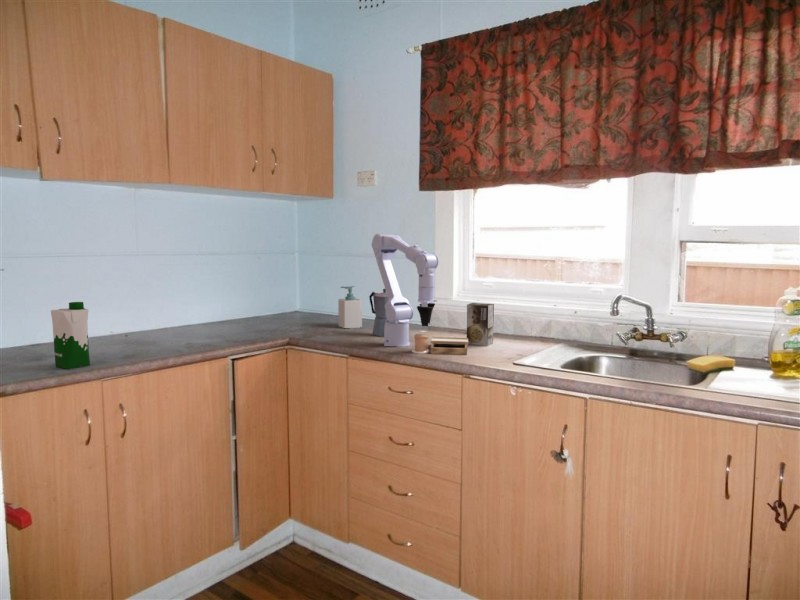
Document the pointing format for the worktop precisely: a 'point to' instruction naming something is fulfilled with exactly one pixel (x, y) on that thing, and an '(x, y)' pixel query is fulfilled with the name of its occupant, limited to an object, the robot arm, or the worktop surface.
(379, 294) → the moka pot
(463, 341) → the lid
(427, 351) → the saucer
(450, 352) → the cold frame
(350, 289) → the soap bottle
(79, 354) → the milk carton
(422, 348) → the pot
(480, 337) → the coffee box
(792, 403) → the worktop surface
